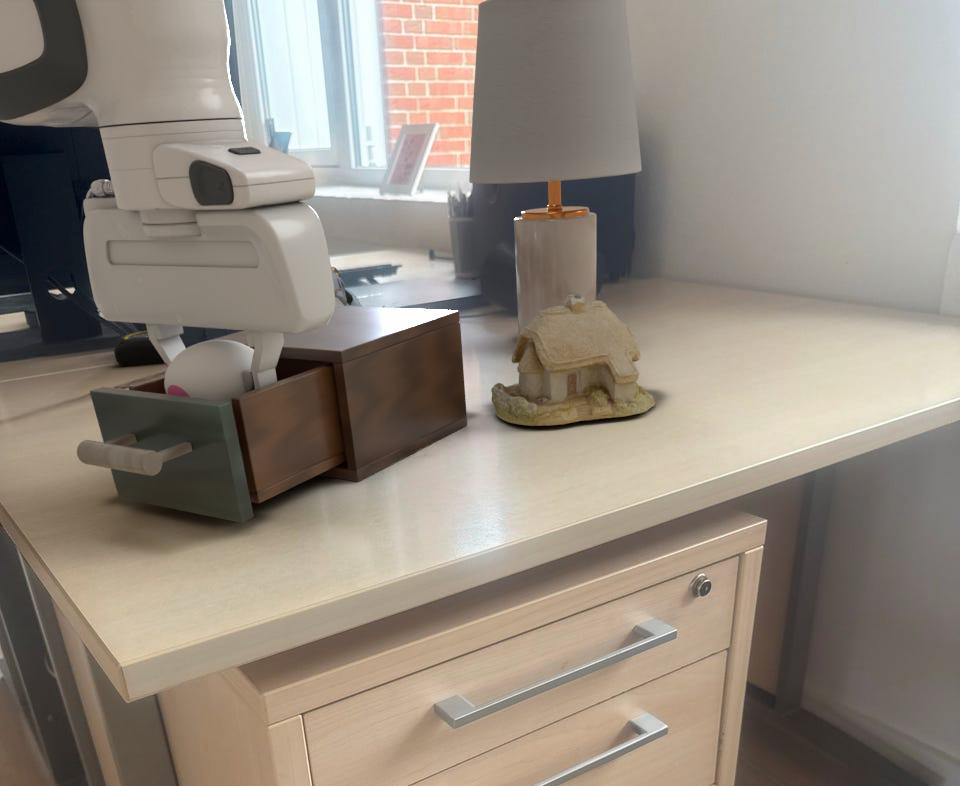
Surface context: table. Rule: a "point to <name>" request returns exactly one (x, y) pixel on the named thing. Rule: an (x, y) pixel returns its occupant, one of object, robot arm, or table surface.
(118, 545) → the table surface
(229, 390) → the stress ball
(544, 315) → the ceramic model
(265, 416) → the drawer
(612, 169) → the lamp
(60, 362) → the table surface
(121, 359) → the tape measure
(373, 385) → the cabinet
